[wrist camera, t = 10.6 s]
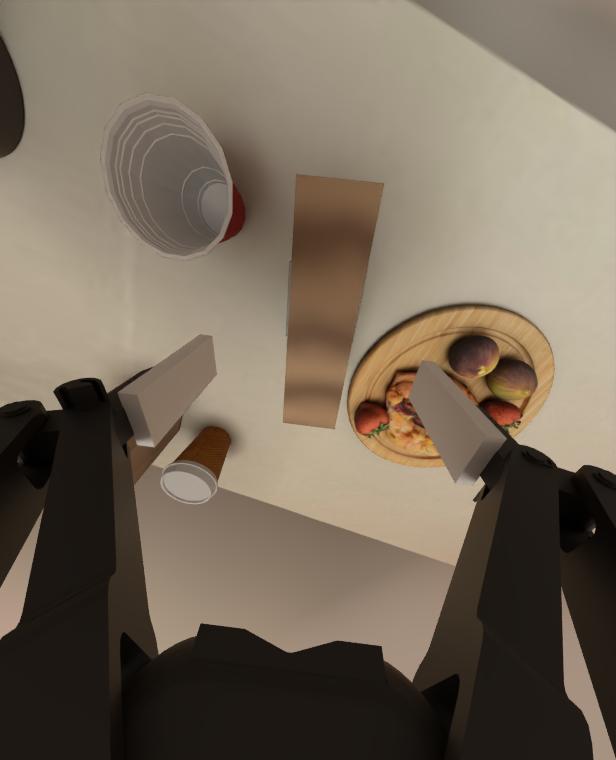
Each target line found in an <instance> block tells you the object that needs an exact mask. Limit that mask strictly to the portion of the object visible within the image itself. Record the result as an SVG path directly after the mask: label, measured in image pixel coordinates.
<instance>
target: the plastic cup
mask: <svg viewBox="0 0 616 760" xmlns="http://www.w3.org/2000/svg"><path fill="white" fill-rule="evenodd" d="M100 160H101V165H102V171H103V176H104V182H105V187H106V192H107V194H108V196H109V198H110V200H111V202H112V204H113V206H114V208H115V211H116V213H117V215H118V217H119V219H120V221H121V222H122V223H123V224H124V225H125V227H126V228H127V229H128V230H129V231H130V232H131V233H132V234H133V236H134V237H135V238H136V239H137V240H138V241H139V242H140V243H141V244H142V245H144V246H146V247H147V248H149V249H151V250H152V251H154V252H156V253H157V254H159V255H161V256H162V257H166V258H172V259H178V260H185V261H187V260H190V259H193V258H197V257H200V256H203V255H206V254H208V253H209V252H210V251H211V250H212V249H213V248H214V247H215V246H216V245H217V244H219V243H221V242H223V241H226V240H228V239H230V238H231V237H233V236H235V235H236V234H237V233H238V232H239V231H240V230H241V228H242V225H243V223H244V220H245V208H244V204H243V201H242V198H241V196H240V194H239V193H238V191H237V188H236V187H235V185H234V184H233V182H232V179H231V176H230V172H229V169H228V166H227V163H226V159H225V156H224V153H223V149H222V147H221V146H220V144H219V143H218V141H217V140H216V138H215V137H214V135H213V134H212V132H211V131H210V129H209V128H208V126H207V125H206V123H205V122H204V120H203V119H202V118H201V117H200V116H198V115H197V114H196V113H194V112H193V111H192V110H190V109H189V108H187V107H186V106H185V105H183V104H182V103H181V102H179V101H178V100H177V99H175V98H171V97H166V96H160V95H154V94H149V93H144V94H142V95H140V96H137V97H135V98H133V99H131V100H128V101H126V102H124V103H121V104H120V106H119V107H118V109H117V110H116V112H115V113H114V115H113V116H112V118H111V119H110V121H109V122H108V124H107V126H106V127H105V131H104V138H103V145H102V152H101V159H100Z"/></svg>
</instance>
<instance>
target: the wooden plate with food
mask: <svg viewBox="0 0 616 760" xmlns="http://www.w3.org/2000/svg"><path fill="white" fill-rule="evenodd" d="M422 360H425V361H433V362H435V363H436V364H437V365H438V366H439V367H440V368H441V369H442V370H443V372H444V373H445V374H446V375H447V376H448V377H449V378H450V379H451V380H452V381H453V382H454V383H455V384H456V385H457V386H458V387H459V388H460V390H461V391H462V392H463V393H464V394H465V395H466V396H467V397H468V398H469V399H470V400H471V401H472V402H473V403H474V404H475V405H478V406H479V407H481V408H482V409H484V410H485V411H487V412H488V413H489V414H490V415H491V416H492V417H493V418H494V420H496V422H497V423H498V424H499V426H501V427H502V428H503V429H504V430H505V431H506V432H507V433H508V434H509V435H510V436H511V437H512V438H514V437H515V436H516V435H518V434H519V433H520V432H521V431H522V430H523V429H524V428H525V427H526V426H527V425H528V424H529V423H530V422H531V421H532V420H533V418H534V417H535V416H536V415H537V413H538V412H539V411H540V409H541V408H542V406H543V405H544V403H545V401H546V399H547V397H548V395H549V392H550V390H551V387H552V383H553V378H554V370H555V368H554V358H553V353H552V349H551V346H550V344H549V342H548V340H547V339H546V337H545V336H544V335H543V334H542V332H541V331H540V330H539V329H538V328H537V327H536V326H535V325H534V324H532V323H531V322H530V321H529V320H527V319H526V318H524V317H523V316H520V315H518V314H516V313H514V312H511V311H508V310H505V309H501V308H497V307H493V306H484V305H462V306H453V307H448V308H443V309H438V310H434V311H431V312H428V313H425V314H423V315H420V316H418V317H416V318H414V319H412V320H410V321H408V322H406V323H404V324H402V325H401V326H399V327H398V328H396V329H395V330H393V331H392V332H390V333H389V334H387V335H386V336H385V337H384V338H382V339H381V340H380V341H379V342H378V343H377V344H376V345H375V346H374V347H373V348H372V349H371V350H370V351H369V352H368V354H367V355H366V356H365V357H364V359H363V360H362V362H361V363H360V365H359V366H358V368H357V370H356V372H355V374H354V376H353V378H352V381H351V384H350V387H349V392H348V400H347V410H348V415H349V420H350V423H351V426H352V428H353V430H354V432H355V434H356V435H357V437H358V438H359V439H360V440H361V442H362V443H363V444H364V445H365V446H366V447H367V448H368V449H370V450H371V451H372V452H373V453H375V454H377V455H378V456H380V457H382V458H384V459H386V460H389V461H391V462H394V463H398V464H401V465H406V466H413V467H443V466H446V465H445V464H444V462H443V460H442V458H441V456H440V454H439V453H438V451H437V449H436V447H435V445H434V444H433V442H432V440H431V438H430V436H429V434H428V433H427V431H426V429H425V427H424V425H423V423H422V422H421V420H420V418H419V416H418V414H417V413H416V411H415V409H414V407H413V405H412V403H411V402H410V400H409V398H408V395H409V392H410V390H411V387H412V385H413V382H414V379H415V377H416V374H417V371H418V369H419V366H420V364H421V361H422Z"/></svg>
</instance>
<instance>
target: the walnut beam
mask: <svg viewBox="0 0 616 760" xmlns="http://www.w3.org/2000/svg"><path fill="white" fill-rule="evenodd" d="M383 187H384V183H374V182H365V181H355V180H346V179H336V178H327V177H317V176H308V175H298V174H296V192H295V210H294V229H293V247H292V265H291V284H290V302H289V320H288V339H287V357H286V375H285V394H284V412H283V423H290V424H298V425H306V426H314V427H322V428H330V429H335V424H336V419H337V414H338V409H339V405H340V400H341V395H342V390H343V385H344V380H345V375H346V370H347V365H348V360H349V355H350V350H351V345H352V340H353V335H354V330H355V325H356V320H357V315H358V310H359V305H360V300H361V296H362V291H363V286H364V281H365V276H366V271H367V266H368V261H369V256H370V251H371V246H372V241H373V236H374V231H375V226H376V221H377V216H378V211H379V206H380V201H381V196H382V191H383Z"/></svg>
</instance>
